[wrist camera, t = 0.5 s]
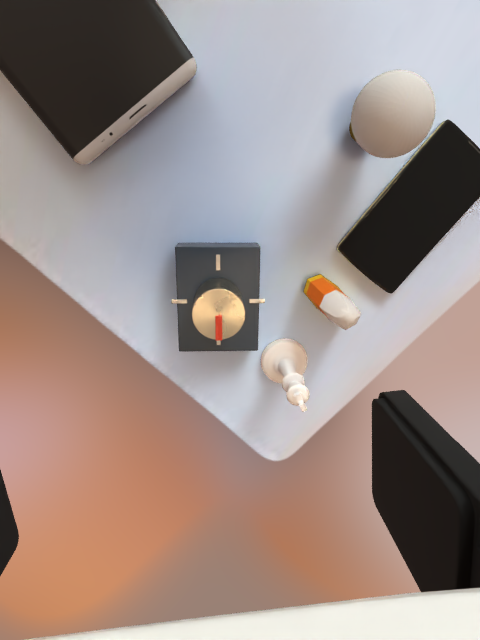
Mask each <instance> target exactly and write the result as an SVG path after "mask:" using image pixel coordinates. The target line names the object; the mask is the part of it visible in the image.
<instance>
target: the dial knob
mask: <svg viewBox="0 0 480 640" xmlns="http://www.w3.org/2000/svg"><path fill="white" fill-rule="evenodd" d="M192 319H193V323H194V325H195V327H196V328H197V330H198V331H199V332H200V333H201V334H202V335H204V336H206V337H208V338H211V339H215V340H216V341H220V340H222V339H227V338H229V337H231V336H233V335H235V334H236V333H237V332H238V331H239V330H240V329H241V327H242V325H243V323H244V320H245V308H244V304H243V300H242V296H241V293H240V291H239V289H238V287H237V286H236V285H235V284H234V283H233V282H231V281H229V280H227V279H224V278H213V279H209V280H207V281H205V282H204V283H203V284H202V285H201V286H200V287H199V288H198V290H197V292H196V294H195V299H194V304H193V309H192Z"/></svg>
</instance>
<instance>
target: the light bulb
mask: <svg viewBox="0 0 480 640" xmlns="http://www.w3.org/2000/svg"><path fill="white" fill-rule="evenodd" d="M435 108H436V104H435V98H434V94H433V91H432V89H431V87H430V86H429V84H428V83H427V82H426V81H425V80H424V79H423V78H422V77H421V76H419V75H418V74H416V73H414V72H411V71H407V70H393V71H388V72H385V73H382V74H381V75H379V76H377V77H375V78H374V79H372V80H371V81H370V82H369V83H368V84H367V85H366V86H365V87H364V88H363V89H362V90H361V92H360V93H359V95H358V97H357V98H356V101H355V103H354V106H353V110H352V115H351V123H350V127H349V131H350V135H351V137H352V138H353V140H354V141H356V142H357V143H358V144H359V145H360V147H361V148H362V149H364V150H365V151H366V152H368V153H369V154H371V155H373V156H376V157H381V158H393V157H398V156H401V155H404V154H406V153H408V152H410V151H411V150H413V149H414V148H416V147H417V146H418V145H419V144H420V143H421V142H422V141H423V140H424V138H425V137H426V136H427V134H428V132H429V131H430V129H431V126H432V124H433V121H434V117H435Z"/></svg>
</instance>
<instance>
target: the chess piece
mask: <svg viewBox="0 0 480 640" xmlns="http://www.w3.org/2000/svg"><path fill="white" fill-rule="evenodd" d="M261 367H262V370H263V372H264V373H265V375H266V376H267V377H268V378H269V379H271V380H272V381H274V382H277V383H282V387H283V389H284V390H285V391H286V392H287V399H288V401H289V402H290V403H291V404H293V405H296V406H298V405H299V406H300V408H301V410H302V412H304V411H306V410H307V408H306V406H305V404H304V403H306V402H307V400H308V399H309V390H308V389H307V387H306V386H304V384H305V381H304V378H303V377H302V375H303V373H304V372H305V370H306V367H307V354H306V351H305V349H304V348H303V346H302V345H301V344H300V343H298V342H297V341H295V340H292V339H286V338H284V339H278V340H275V341H273V342H271V343H270V344H269V345H268V346H267V347H266V348H265V349H264V351H263V353H262V356H261Z"/></svg>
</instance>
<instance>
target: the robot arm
mask: <svg viewBox="0 0 480 640" xmlns="http://www.w3.org/2000/svg"><path fill="white" fill-rule="evenodd" d="M372 493H373V498H374V502H375V505H376V507H377V509H378V511H379V513H380V515H381V517H382V519H383V521H384V522H385V524H386V526H387V528H388V530H389V532H390V534H391V536H392V538H393V540H394V541H395V543H396V545H397V547H398V549H399V551H400V553H401V555H402V557H403V559H404V560H405V562H406V564H407V566H408V568H409V570H410V572H411V573H412V576H413V577H414V579H415V581H416V583H417V585H418V587H419V589H420V591H421V592H418V593H407V594H399V595H390V596H381V597H372V598H364V599H355V600H346V601H338V602H329V603H320V604H312V605H304V606H295V607H287V608H278V609H269V610H260V611H252V612H243V613H236V614H226V615H219V616H210V617H202V618H194V619H185V620H177V621H169V622H160V623H152V624H145V625H136V626H128V627H120V628H112V629H104V630H96V631H88V632H80V633H72V634H64V635H56V636H48V637H40V638H32V639H25V640H480V464H479V463H478V462H477V461H476V460H475V459H474V458H473V457H472V456H471V455H470V454H469V453H468V452H467V451H466V450H465V449H464V448H463V447H462V446H461V445H460V444H459V443H458V442H457V441H455V440H454V439H453V438H452V437H451V436H450V435H449V434H448V433H447V432H446V431H445V430H444V429H443V428H442V427H441V426H440V425H439V424H438V423H437V422H436V421H435V420H434V419H433V418H432V417H431V416H430V415H429V414H428V413H427V412H426V411H425V410H424V409H423V408H422V407H421V406H420V405H419V404H418V403H417V402H416V401H415V400H414V399H413V398H412V397H411V396H410V395H409V394H408V393H407V392H406V391H405V390H400V391H390V392H382V393H380V394H379V398H378V399H374V400H373V401H372ZM18 537H19V535H18V529H17V525H16V522H15V519H14V515H13V512H12V508H11V505H10V501H9V498H8V495H7V491H6V488H5V484H4V481H3V477H2V474H1V470H0V576H1V574H2V572H3V570H4V569H5V567H6V565H7V564H8V562H9V560H10V558H11V557H12V555H13V553H14V551H15V550H16V547H17V544H18V539H19V538H18Z"/></svg>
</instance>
